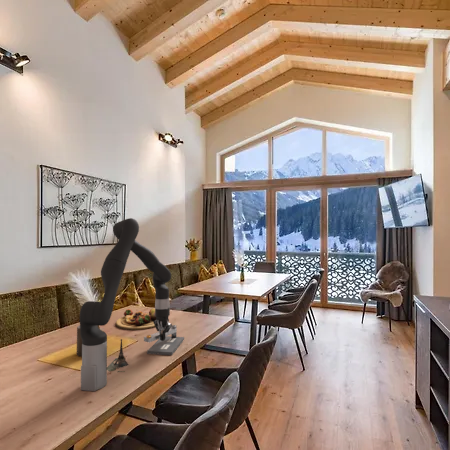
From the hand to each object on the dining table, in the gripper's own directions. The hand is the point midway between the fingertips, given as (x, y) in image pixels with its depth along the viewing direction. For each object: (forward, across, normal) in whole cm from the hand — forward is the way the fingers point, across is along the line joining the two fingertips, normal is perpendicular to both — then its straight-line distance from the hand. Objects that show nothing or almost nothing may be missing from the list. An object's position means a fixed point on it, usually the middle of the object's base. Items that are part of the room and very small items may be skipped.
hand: (162, 340), depth 162 cm
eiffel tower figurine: (+5, 0, -24) cm, 25 cm away
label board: (+4, -1, +4) cm, 6 cm away
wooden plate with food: (+4, -48, +20) cm, 53 cm away
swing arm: (+3, -5, +3) cm, 6 cm away
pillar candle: (+4, -26, -28) cm, 38 cm away
